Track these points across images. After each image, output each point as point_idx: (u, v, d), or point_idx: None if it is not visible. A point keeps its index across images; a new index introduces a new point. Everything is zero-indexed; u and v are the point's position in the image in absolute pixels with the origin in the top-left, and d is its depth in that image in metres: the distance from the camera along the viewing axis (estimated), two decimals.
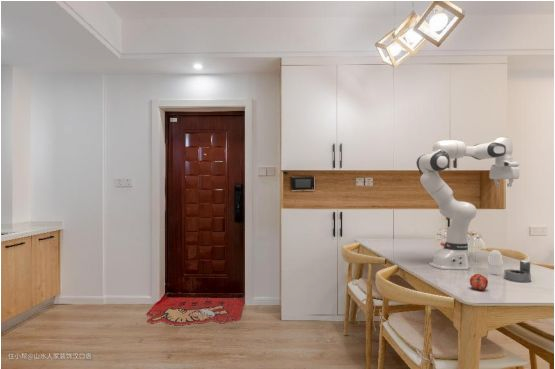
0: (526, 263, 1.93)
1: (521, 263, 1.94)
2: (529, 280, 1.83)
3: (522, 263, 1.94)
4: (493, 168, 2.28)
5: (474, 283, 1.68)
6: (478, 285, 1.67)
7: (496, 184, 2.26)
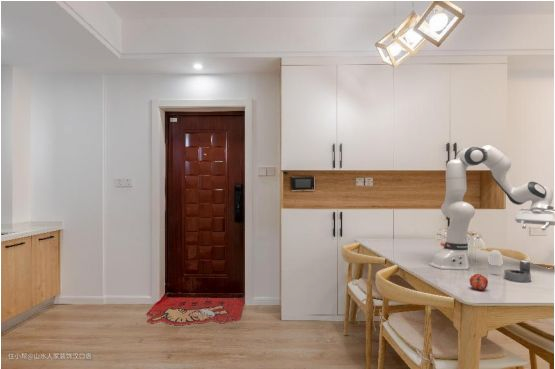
0: (526, 263, 1.93)
1: (521, 263, 1.94)
2: (529, 280, 1.83)
3: (522, 263, 1.94)
4: (524, 210, 2.11)
5: (474, 283, 1.68)
6: (478, 285, 1.67)
7: (523, 225, 2.06)
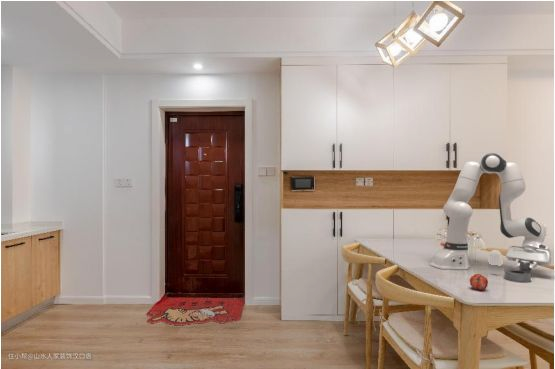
0: (526, 263, 1.93)
1: (521, 263, 1.94)
2: (529, 280, 1.83)
3: (522, 263, 1.94)
4: (516, 248, 2.03)
5: (474, 283, 1.68)
6: (478, 285, 1.67)
7: (518, 264, 1.97)
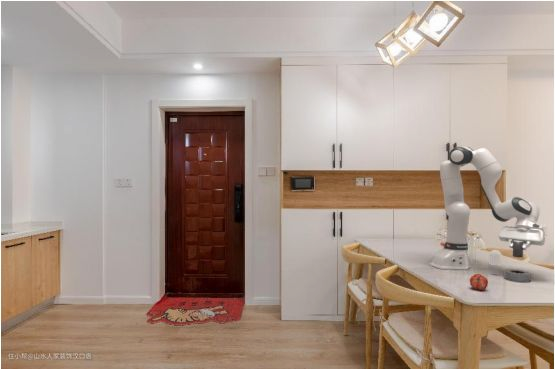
0: (519, 243, 1.86)
1: (514, 243, 1.88)
2: (529, 280, 1.83)
3: (515, 243, 1.87)
4: (509, 228, 1.97)
5: (474, 283, 1.68)
6: (478, 285, 1.67)
7: (511, 244, 1.90)
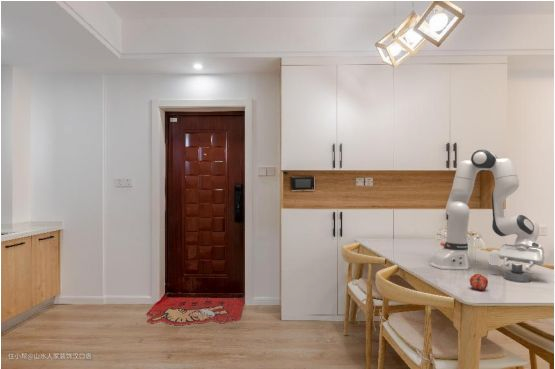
0: (518, 266, 1.86)
1: (513, 266, 1.87)
2: (529, 280, 1.83)
3: (514, 266, 1.87)
4: (508, 246, 1.96)
5: (474, 283, 1.68)
6: (478, 285, 1.67)
7: (507, 262, 1.91)
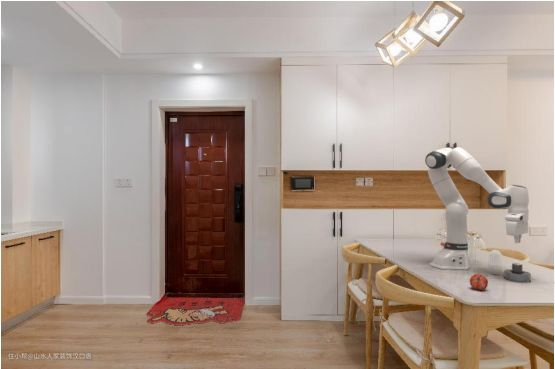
0: (518, 266, 1.86)
1: (513, 266, 1.87)
2: (529, 280, 1.83)
3: (514, 266, 1.87)
4: None
5: (474, 283, 1.68)
6: (478, 285, 1.67)
7: None
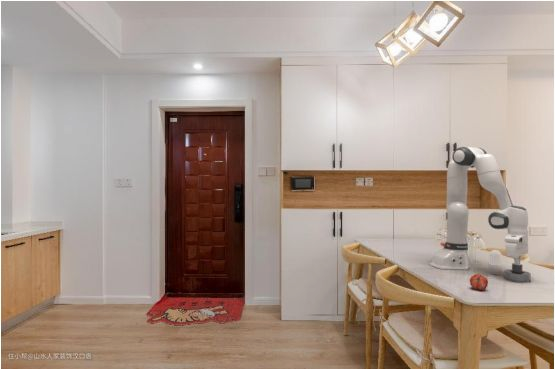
0: (518, 266, 1.86)
1: (513, 266, 1.87)
2: (529, 280, 1.83)
3: (514, 266, 1.87)
4: None
5: (474, 283, 1.68)
6: (478, 285, 1.67)
7: None
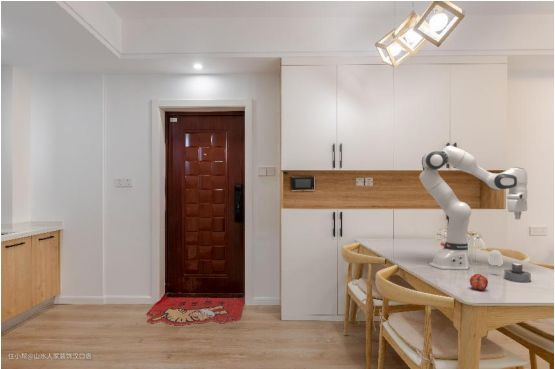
0: (518, 266, 1.86)
1: (513, 266, 1.87)
2: (529, 280, 1.83)
3: (514, 266, 1.87)
4: None
5: (474, 283, 1.68)
6: (478, 285, 1.67)
7: None
